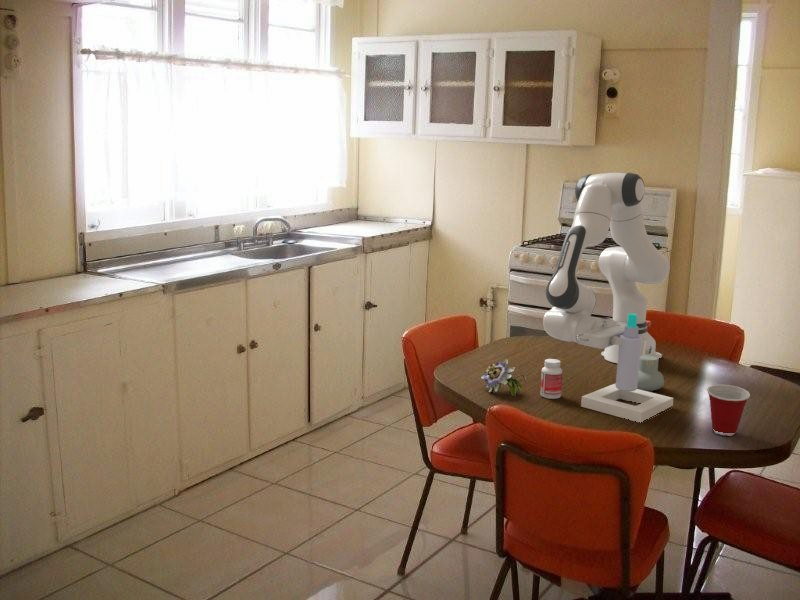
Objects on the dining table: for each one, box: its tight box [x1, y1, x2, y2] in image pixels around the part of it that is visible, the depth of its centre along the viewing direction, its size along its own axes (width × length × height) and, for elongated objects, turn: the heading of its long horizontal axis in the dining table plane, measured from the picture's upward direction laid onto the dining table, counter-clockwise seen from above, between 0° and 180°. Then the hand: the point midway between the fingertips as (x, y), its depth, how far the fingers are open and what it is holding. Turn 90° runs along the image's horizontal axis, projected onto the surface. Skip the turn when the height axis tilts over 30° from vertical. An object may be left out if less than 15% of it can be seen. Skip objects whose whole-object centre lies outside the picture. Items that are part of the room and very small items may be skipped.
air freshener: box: [637, 355, 665, 392], centre depth 271 cm, size 11×8×10 cm
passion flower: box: [480, 358, 527, 398], centre depth 264 cm, size 11×11×12 cm
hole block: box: [580, 382, 674, 424], centre depth 253 cm, size 19×19×3 cm
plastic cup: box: [706, 383, 751, 433], centre depth 233 cm, size 11×11×12 cm
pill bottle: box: [540, 358, 563, 400], centre depth 261 cm, size 6×6×11 cm
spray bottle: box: [615, 313, 642, 391], centre depth 250 cm, size 6×6×22 cm
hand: (634, 340), depth 249 cm, fingers closed on spray bottle, 4 cm apart
